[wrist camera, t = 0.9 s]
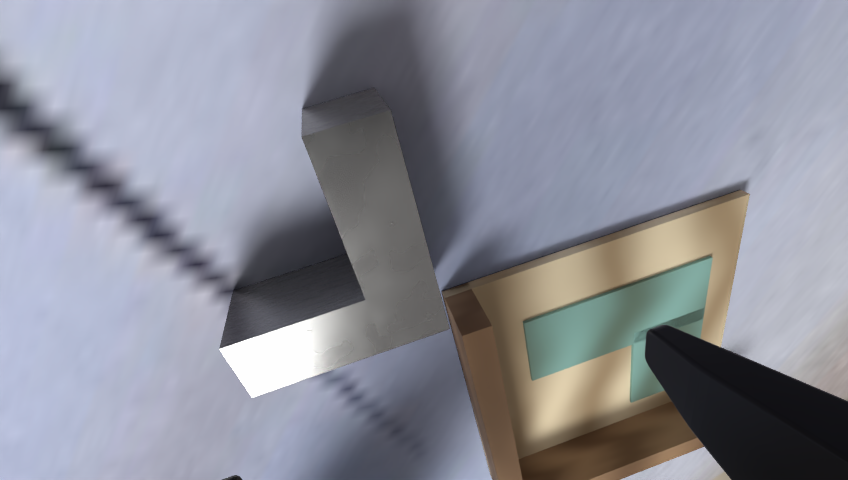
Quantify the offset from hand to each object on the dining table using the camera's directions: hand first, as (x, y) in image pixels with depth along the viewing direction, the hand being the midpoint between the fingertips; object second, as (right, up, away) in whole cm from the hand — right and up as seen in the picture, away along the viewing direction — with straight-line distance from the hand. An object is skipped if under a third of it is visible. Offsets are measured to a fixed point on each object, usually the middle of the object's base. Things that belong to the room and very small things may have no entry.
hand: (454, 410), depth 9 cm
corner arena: (+11, -4, +20) cm, 23 cm away
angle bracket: (-6, +4, +11) cm, 13 cm away
